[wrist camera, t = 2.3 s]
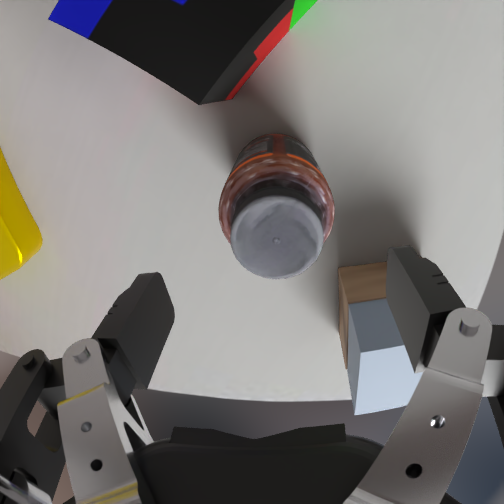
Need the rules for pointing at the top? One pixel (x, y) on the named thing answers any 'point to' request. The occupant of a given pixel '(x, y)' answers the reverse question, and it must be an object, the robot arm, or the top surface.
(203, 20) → the puzzle toy
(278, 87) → the top surface
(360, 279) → the tower base block
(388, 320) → the tower top block
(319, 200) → the supplement bottle
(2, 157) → the element tile
